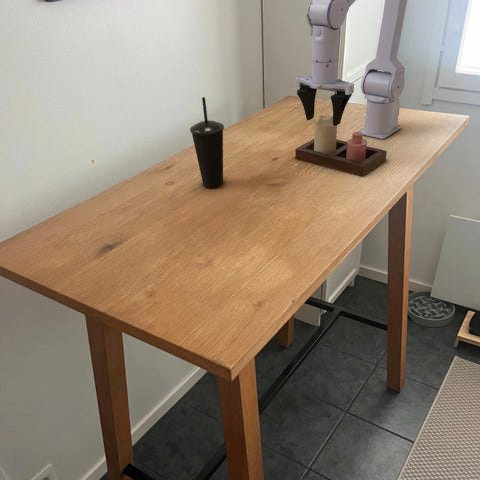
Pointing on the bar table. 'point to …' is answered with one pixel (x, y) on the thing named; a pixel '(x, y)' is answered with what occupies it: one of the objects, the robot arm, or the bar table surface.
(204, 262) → the bar table surface
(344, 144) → the holder
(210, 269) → the bar table surface
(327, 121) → the candle
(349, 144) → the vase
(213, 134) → the drinking cup
